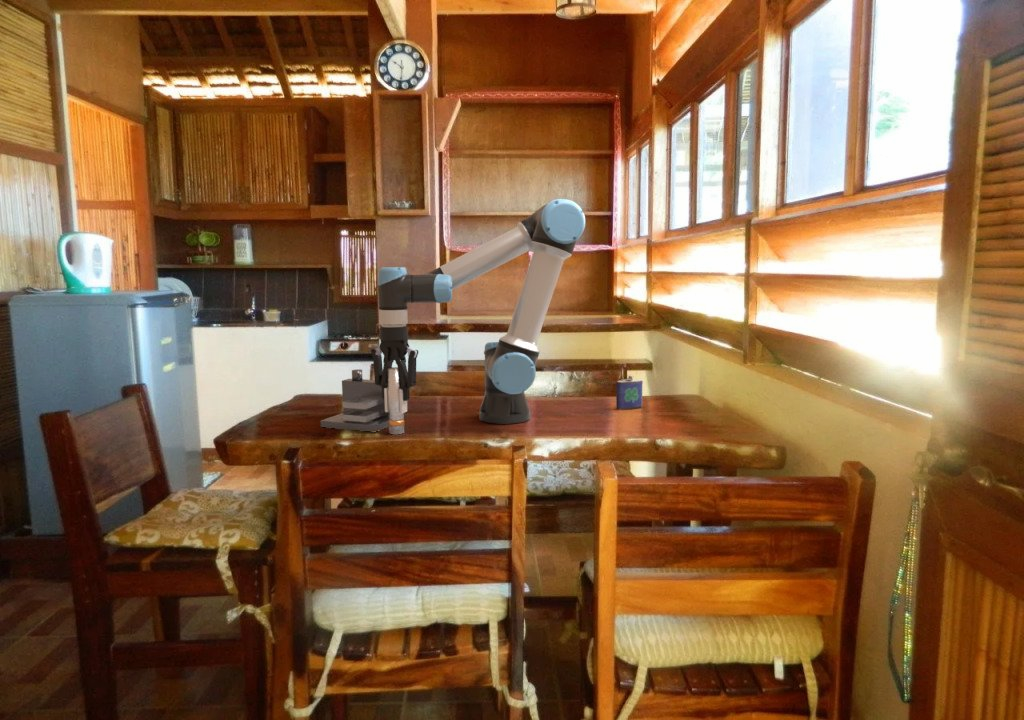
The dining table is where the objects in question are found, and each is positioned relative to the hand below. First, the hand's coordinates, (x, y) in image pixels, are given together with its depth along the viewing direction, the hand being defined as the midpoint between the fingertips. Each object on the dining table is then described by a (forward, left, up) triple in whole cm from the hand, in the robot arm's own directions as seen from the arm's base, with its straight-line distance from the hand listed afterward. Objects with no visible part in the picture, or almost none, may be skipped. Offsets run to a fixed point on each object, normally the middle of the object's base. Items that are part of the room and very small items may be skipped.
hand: (396, 411), depth 185 cm
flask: (-53, -54, -6) cm, 76 cm away
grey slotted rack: (+15, -6, -6) cm, 17 cm away
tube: (0, 0, -6) cm, 6 cm away
